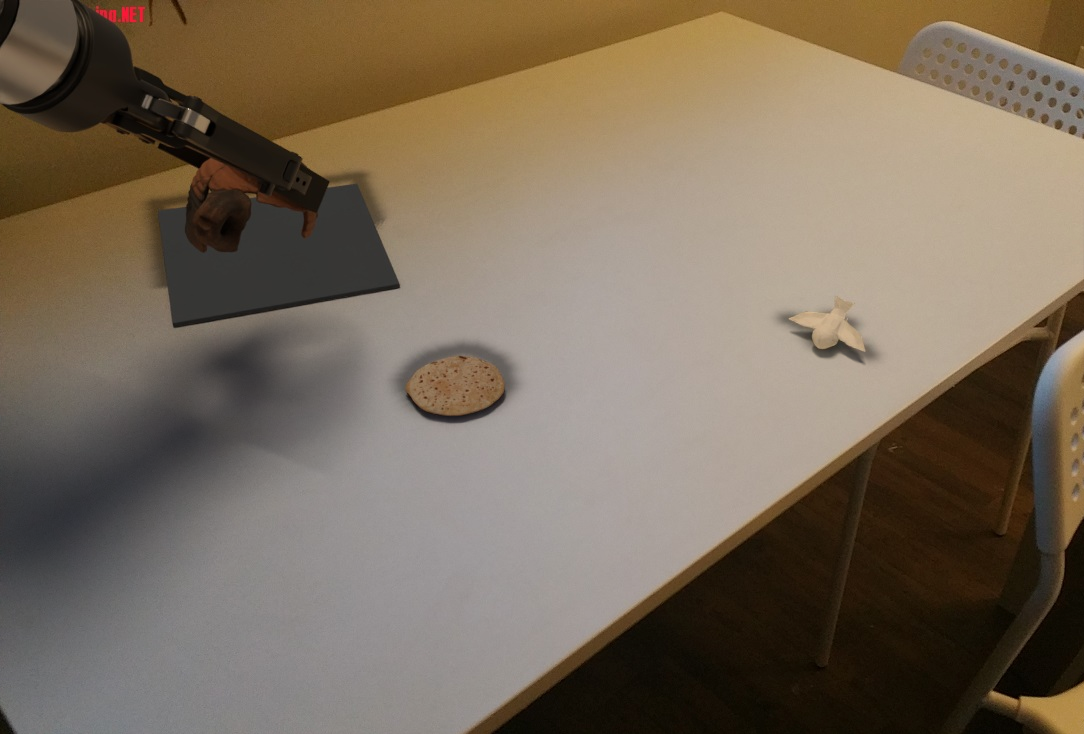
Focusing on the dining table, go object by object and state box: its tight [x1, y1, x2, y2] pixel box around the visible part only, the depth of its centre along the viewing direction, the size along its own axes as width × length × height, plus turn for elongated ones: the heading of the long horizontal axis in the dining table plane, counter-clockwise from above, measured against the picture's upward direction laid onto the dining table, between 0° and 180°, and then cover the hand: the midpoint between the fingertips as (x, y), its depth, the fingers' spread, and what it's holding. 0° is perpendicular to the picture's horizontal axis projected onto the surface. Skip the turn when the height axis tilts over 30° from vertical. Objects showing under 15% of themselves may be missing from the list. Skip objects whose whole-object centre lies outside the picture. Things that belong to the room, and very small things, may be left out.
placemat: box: [157, 183, 401, 328], centre depth 97 cm, size 20×20×1 cm
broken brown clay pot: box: [185, 158, 318, 253], centre depth 76 cm, size 12×10×8 cm
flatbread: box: [404, 354, 505, 417], centre depth 83 cm, size 8×8×1 cm
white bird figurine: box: [788, 295, 866, 353], centre depth 92 cm, size 8×5×5 cm, turn 57°
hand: (271, 179), depth 78 cm, fingers closed on broken brown clay pot, 9 cm apart
